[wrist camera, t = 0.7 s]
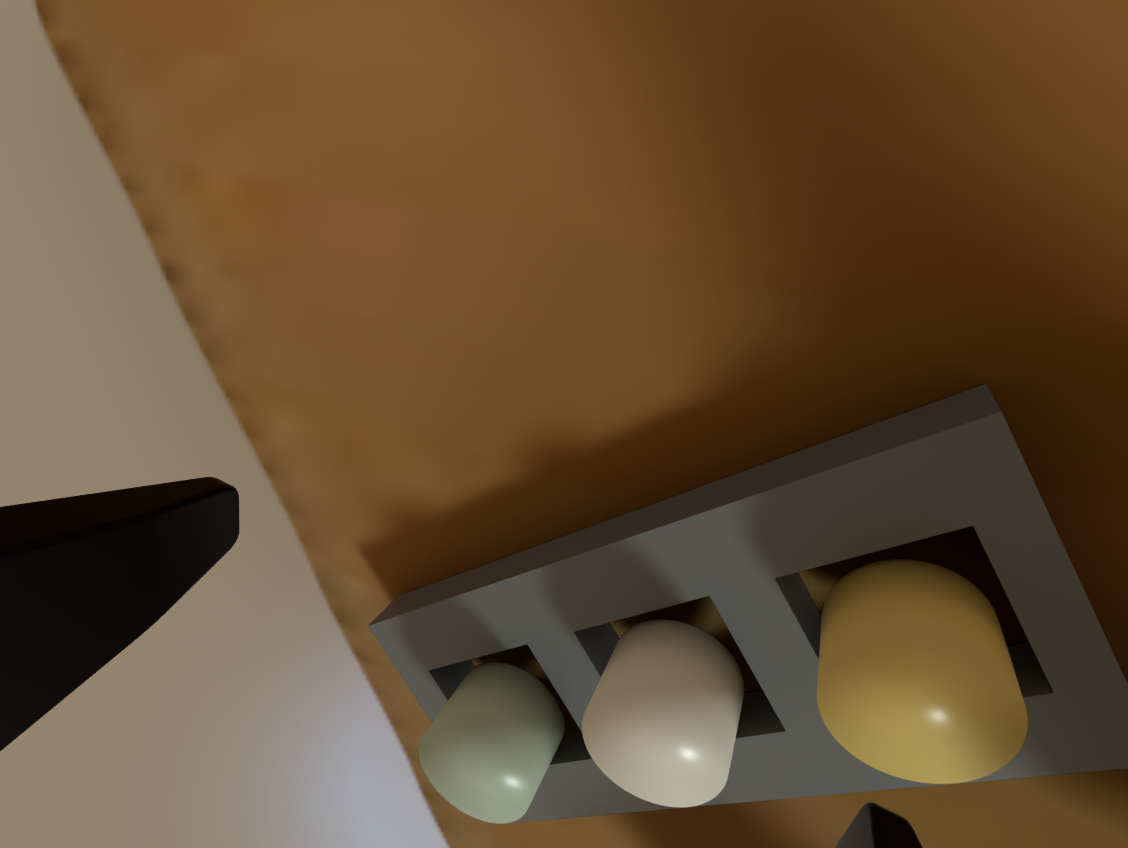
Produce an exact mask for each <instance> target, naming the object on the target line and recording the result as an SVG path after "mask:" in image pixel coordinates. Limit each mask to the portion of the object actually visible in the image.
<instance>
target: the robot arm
mask: <svg viewBox="0 0 1128 848" xmlns="http://www.w3.org/2000/svg"><path fill="white" fill-rule="evenodd" d="M238 534H239V495H238V492H237V490H236V488H234V487H233V486H231V485H229V484H227V483H225V482H223V481H221V480H219V479H217V478H213V477H204V478H197V479H190V480H184V481H176V482H169V483H162V484H156V485H149V486H142V487H135V488H128V489H122V490H114V491H107V492H101V493H94V494H87V495H80V496H73V497H66V498H59V499H52V500H46V501H38V502H31V503H25V504H18V505H11V506H4V507H0V751H1V750H2V749H4V748H5V747H6V746H7V745H8V744H10V743H11V742H12V741H13V740H14V739H16V738H17V737H18V736H19V735H21V734H22V733H23V732H24V731H26V730H27V729H28V728H29V727H30V726H32V725H33V724H34V723H35V722H36V721H38V720H39V719H40V718H41V717H42V716H44V715H45V714H46V713H47V712H49V711H50V710H51V709H52V708H53V707H54V706H56V705H57V704H58V703H59V702H61V701H62V700H63V699H64V698H66V697H67V696H68V695H69V694H70V693H72V692H73V691H74V690H75V689H76V688H77V687H79V686H80V685H81V684H83V683H84V682H85V681H86V680H87V679H89V678H90V677H91V676H92V675H93V674H95V673H96V672H97V671H98V670H99V669H101V668H102V667H103V666H104V665H105V664H107V663H108V662H109V661H110V660H112V659H113V658H114V657H115V656H116V655H118V654H119V653H120V652H121V651H122V650H124V649H125V648H126V647H127V646H128V645H130V644H131V643H132V642H133V641H134V640H136V639H137V638H138V637H139V636H141V634H143V633H144V632H145V631H146V630H147V629H149V628H150V627H151V626H152V625H153V624H154V623H155V622H156V621H157V620H159V619H160V618H161V617H162V616H163V615H164V614H165V613H166V612H167V611H168V610H169V609H170V608H171V607H172V606H173V605H174V604H175V603H176V602H177V601H178V600H179V599H180V598H181V597H182V596H183V595H184V594H185V593H186V592H187V591H188V590H189V589H190V588H191V587H192V586H193V585H194V584H195V583H196V582H197V581H199V580H200V579H201V577H203V576H204V575H205V574H206V573H207V572H208V571H209V570H210V569H211V568H212V567H213V566H214V565H215V564H216V563H217V562H218V561H219V560H220V559H221V558H222V557H223V556H224V555H225V554H226V553H227V552H228V551H229V550H230V549H231V548H232V546H233V545H234V543H235V542H236V540H237V538H238ZM835 848H922V846H921V844H920V842H919V840H918V838H917V836H916V834H915V832H914V830H913V828H912V826H911V825H910V823H909V822H908V821H907V820H906V819H905V818H904V817H902V816H900V815H898V814H896V813H894V812H892V811H890V810H888V809H886V808H884V807H882V806H880V805H878V804H876V803H872V802H870V803H867V804H865V805H864V806H863V807H862V808H861V810H860V811H859V812H858V814H857V815H856V817H855V818H854V820H853V821H852V822H851V824H850V825H849V827H848V828H847V830H846V831H845V833H844V834H843V835H842V837H841V838H840V840H839V841H838V843H837V845H836V847H835Z"/></svg>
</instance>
